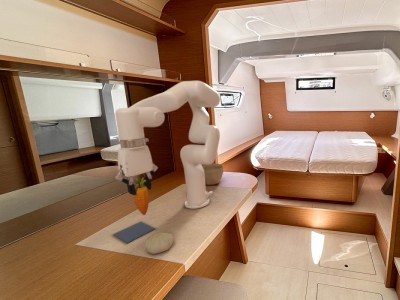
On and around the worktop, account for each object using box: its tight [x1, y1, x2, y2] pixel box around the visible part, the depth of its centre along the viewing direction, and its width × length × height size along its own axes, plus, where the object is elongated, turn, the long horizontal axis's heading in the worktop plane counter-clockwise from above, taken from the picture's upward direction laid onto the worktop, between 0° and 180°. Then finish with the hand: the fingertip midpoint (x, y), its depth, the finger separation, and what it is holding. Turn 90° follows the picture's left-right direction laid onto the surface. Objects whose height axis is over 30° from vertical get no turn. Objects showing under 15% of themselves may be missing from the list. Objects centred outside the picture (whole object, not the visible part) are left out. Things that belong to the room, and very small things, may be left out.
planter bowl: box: [202, 163, 225, 186], centre depth 144 cm, size 16×16×11 cm
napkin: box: [113, 221, 156, 244], centre depth 90 cm, size 11×11×1 cm
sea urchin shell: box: [144, 232, 174, 255], centre depth 80 cm, size 9×8×8 cm
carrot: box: [133, 176, 150, 216], centre depth 81 cm, size 5×5×15 cm
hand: (140, 191), depth 81 cm, fingers closed on carrot, 5 cm apart
